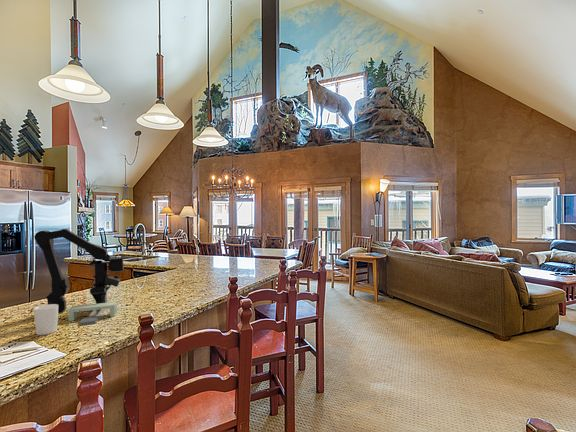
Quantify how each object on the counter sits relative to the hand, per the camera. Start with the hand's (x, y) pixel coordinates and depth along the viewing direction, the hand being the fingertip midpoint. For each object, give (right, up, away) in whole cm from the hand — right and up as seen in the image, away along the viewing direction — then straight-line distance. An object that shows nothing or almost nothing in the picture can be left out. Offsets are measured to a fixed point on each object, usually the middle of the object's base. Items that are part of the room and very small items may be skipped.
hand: (101, 303), depth 165 cm
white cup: (-2, -2, -35) cm, 36 cm away
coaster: (+8, -2, -24) cm, 25 cm away
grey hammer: (+3, -2, -8) cm, 9 cm away
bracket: (+6, -2, -16) cm, 17 cm away
